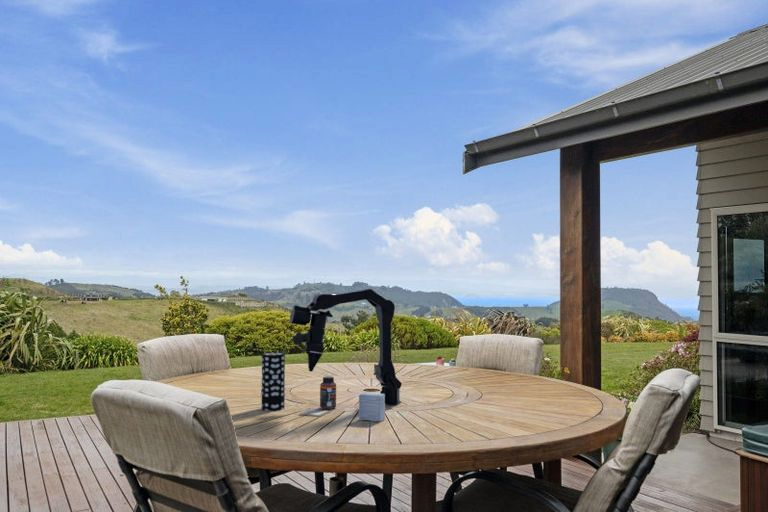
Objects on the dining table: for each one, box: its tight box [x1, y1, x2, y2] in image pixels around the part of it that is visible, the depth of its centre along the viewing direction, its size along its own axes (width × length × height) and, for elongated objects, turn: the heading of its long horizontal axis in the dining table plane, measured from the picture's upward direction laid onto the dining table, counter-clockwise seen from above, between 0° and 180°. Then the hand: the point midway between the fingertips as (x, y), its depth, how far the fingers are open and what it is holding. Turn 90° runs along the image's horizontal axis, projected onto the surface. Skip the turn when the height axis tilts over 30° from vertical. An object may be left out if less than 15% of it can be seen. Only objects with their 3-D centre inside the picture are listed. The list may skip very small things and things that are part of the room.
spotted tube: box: [261, 352, 286, 412], centre depth 225 cm, size 8×8×20 cm
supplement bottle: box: [319, 375, 337, 410], centre depth 226 cm, size 6×6×11 cm
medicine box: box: [358, 392, 386, 422], centre depth 206 cm, size 8×4×9 cm, turn 71°
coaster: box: [298, 409, 330, 417], centre depth 216 cm, size 8×8×1 cm
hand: (310, 370), depth 224 cm, fingers open, 9 cm apart
